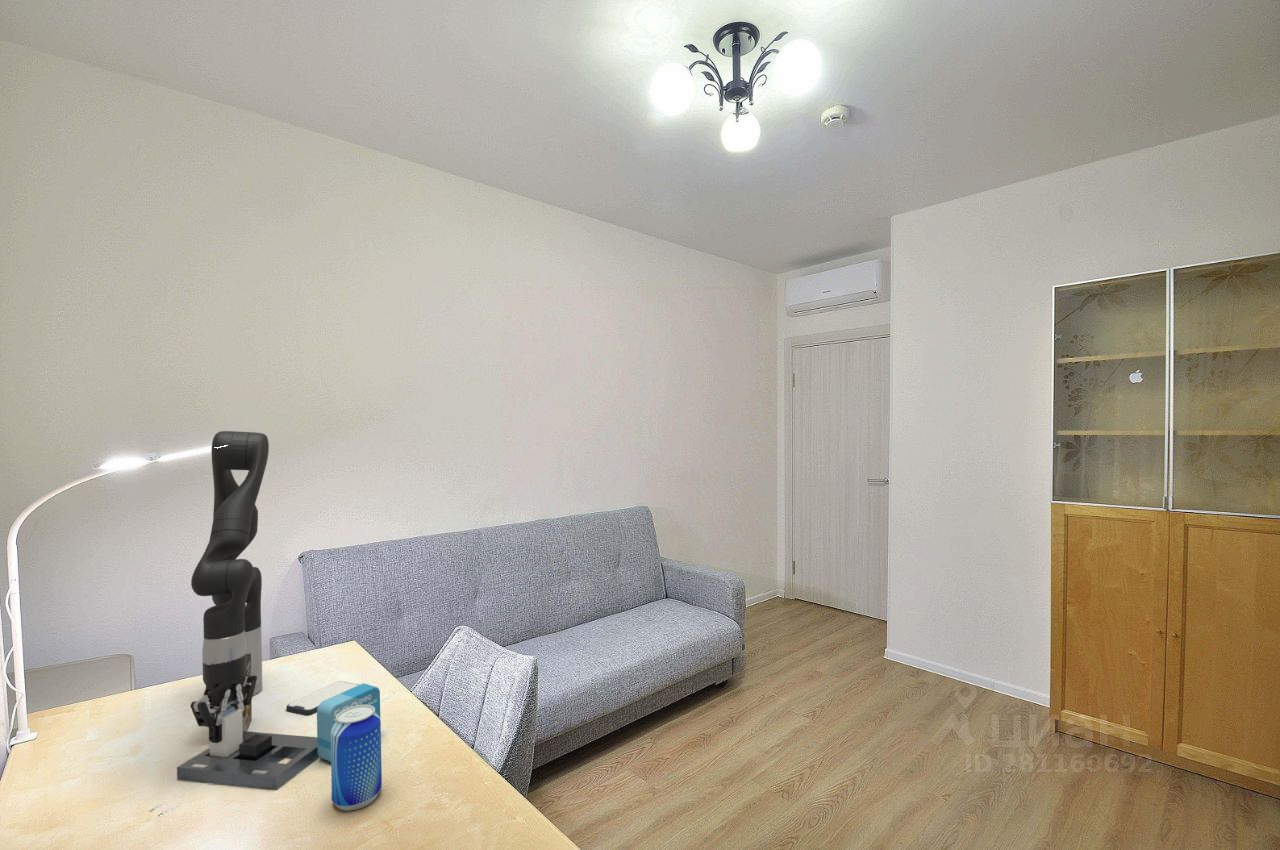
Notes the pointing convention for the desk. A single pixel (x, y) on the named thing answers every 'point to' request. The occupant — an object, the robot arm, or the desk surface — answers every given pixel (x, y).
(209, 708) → the robot arm
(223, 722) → the plug
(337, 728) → the beer can
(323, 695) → the phone case
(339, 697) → the teal rounded box
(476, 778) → the desk surface
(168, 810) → the electronic cable
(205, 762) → the panel
